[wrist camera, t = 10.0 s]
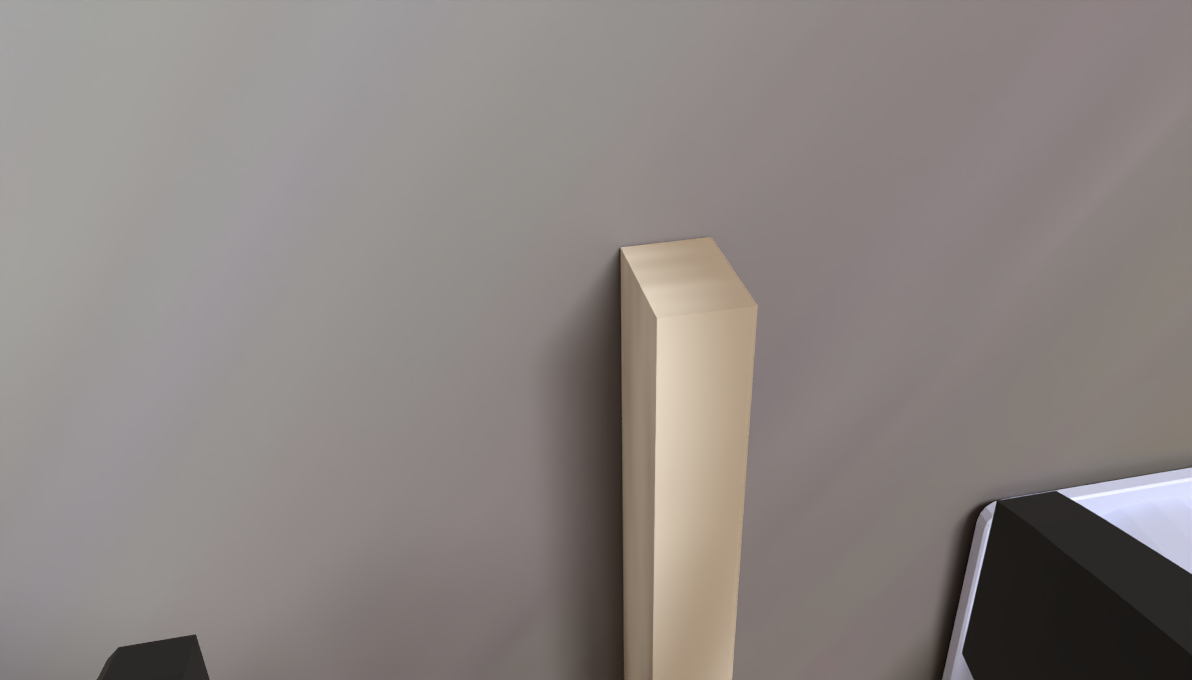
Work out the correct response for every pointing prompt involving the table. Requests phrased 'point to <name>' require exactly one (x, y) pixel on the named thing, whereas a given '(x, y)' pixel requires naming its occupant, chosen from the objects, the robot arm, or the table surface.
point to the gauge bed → (683, 456)
